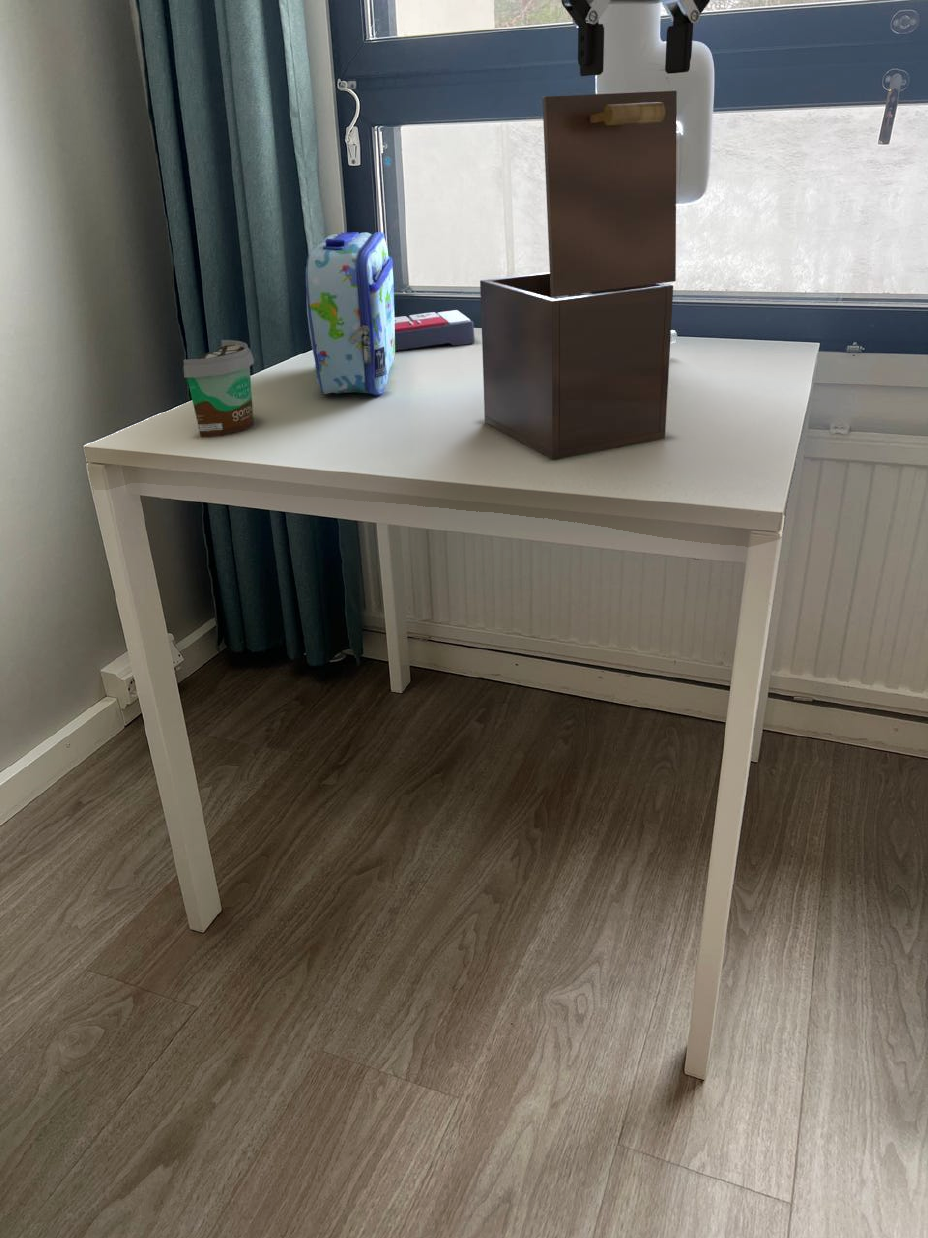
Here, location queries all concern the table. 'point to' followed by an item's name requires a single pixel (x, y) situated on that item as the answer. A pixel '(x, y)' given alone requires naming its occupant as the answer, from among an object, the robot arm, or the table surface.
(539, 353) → the chest
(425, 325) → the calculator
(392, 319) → the lunch box
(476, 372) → the table surface
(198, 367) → the food container
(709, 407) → the table surface
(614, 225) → the chest lid
